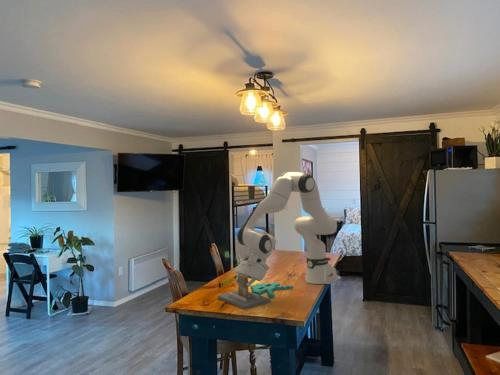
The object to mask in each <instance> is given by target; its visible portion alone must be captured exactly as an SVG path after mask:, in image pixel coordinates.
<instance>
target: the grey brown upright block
mask: <svg viewBox="0 0 500 375" xmlns="http://www.w3.org/2000/svg"><path fill="white" fill-rule="evenodd" d="M247 282H249V278H248V276H245V275H242V274H241V275H238V283H237V290H238V296H241V297H243V298H250V297H251V295H249V293H248V291H249V287H248V286H247V285H246V283H247Z"/></svg>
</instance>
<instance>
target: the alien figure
mask: <svg viewBox="0 0 500 375" xmlns="http://www.w3.org/2000/svg"><path fill="white" fill-rule="evenodd" d="M282 289H283V291H286V290H290V289H292V290H293V289H294V285H292V284H289V285H281V283H280V282H266V283H264V282H263V283H255V284H251V285H250V292H252V293H255V294H258V295H261V296H262V295H264V294H267V296H268V298H269V299H273V298H275V297H276V294H275V293H274V291H282Z"/></svg>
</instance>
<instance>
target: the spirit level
mask: <svg viewBox="0 0 500 375" xmlns="http://www.w3.org/2000/svg"><path fill="white" fill-rule="evenodd" d="M236 279H237V274H236V275H234V276H231V277H229V278H227V279H225V280H223V281H220V282H218V288H222V287H224V286H227V285H229V284H231V283H234V282H235V280H236Z"/></svg>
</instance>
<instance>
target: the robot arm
mask: <svg viewBox="0 0 500 375" xmlns="http://www.w3.org/2000/svg"><path fill="white" fill-rule="evenodd" d="M269 189H270V190H269V192H268V193H267V196H265V198H264V199H263V200H260V201H258V203H256V205H255V207H254V208H253V209H252V211H251V212H250V214H249V216H248V217H247V219H246V220H245V222H244V224H243V225H242V226H241V228H240V229H239V230H238V232H237V233H236V237H237V238H236V239H237V241H238V243H239V244H240V245H242V246H246V247H248V248H251V249H253V251H252V252H251V254H250V255H249V257H248V259H244V260H242V261H241V262H239V264H238V265H237V266H236V267H235V269H234V273H235V274H236V275H237V279H236V280H235V281H234V282H235V283H237V284H238V275H241V274H242V275H245V276H248V279H250V280H248V282H247V283H246V285H247V286H248V288H249V287H250V288H251V286H252V285H253V284H254V283H255V281H256V282H257V281H258V282H261V281H263V280H264V278H265V277H266V275H267V272H268V271H269V270H270V266H269V265H268V263H266V262H267V260H268V258H270V256H271V254H272V253H273V251H274V249H275V247H276V244H277V240H276V238H275V237H274V236H273V235H271V234H267V233H264V232H263V231H259V230H257V229H254V228H255V226H256V225H257V223H258V222H259V219H260V218H261V217H262V216H263V215H266V214H273V213H279V212H281V211H283V210H284V209H285V208H286V206H287V204H288V202H289V199H290V197H291V194H292V192H293V193H299V198H300V203H301V208H302V211H304V212H305V213H306V214H308V215H303V216H299V217H297V218H296V219H295V220H294V225H293V226H294V230H295V231H296V232H297V234H299V235H300V236H301V238H302V239H303V240H304V241H303V242H304V243H305V248H306V265H307V266H306V272H305V277H304V281H305V282H306V283H308V284H313V285H330V284H333V283H335V282H338V281H339V280H341V279H342V277H341V276H340V275H337V269H336V268H335V267H334V266H332V264H330V263H329V261H332V257H329V256H327V251H326V247H327V246H326V244H325V243H324V242H323V241H322V240H320V239H318V237H317V235H318V236H319V235H321V236H323V235H324V236H328V235H332V234H334V233H336V231H337V228H338V223H337V221H336V218H334V217H333V216H332V215H329V213H327V212H326V211H325V209H324V208H323V205H322V202H321V201H322V200H321V196H320V191H319V188H318V185H317V182H316V180H315V179H314V177H313V175H311V174H309V173H304V172H300V171H284V172H282V173H281V174H280V175H279V177H277V178H276V179H275V181H274V183H273V184H272V186H271V187H270V188H269ZM326 256H327V257H326Z"/></svg>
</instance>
